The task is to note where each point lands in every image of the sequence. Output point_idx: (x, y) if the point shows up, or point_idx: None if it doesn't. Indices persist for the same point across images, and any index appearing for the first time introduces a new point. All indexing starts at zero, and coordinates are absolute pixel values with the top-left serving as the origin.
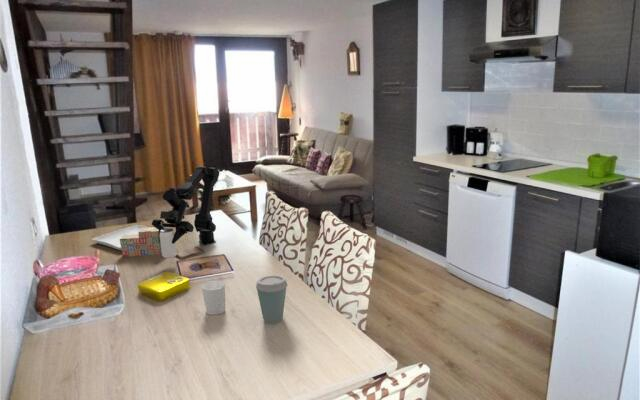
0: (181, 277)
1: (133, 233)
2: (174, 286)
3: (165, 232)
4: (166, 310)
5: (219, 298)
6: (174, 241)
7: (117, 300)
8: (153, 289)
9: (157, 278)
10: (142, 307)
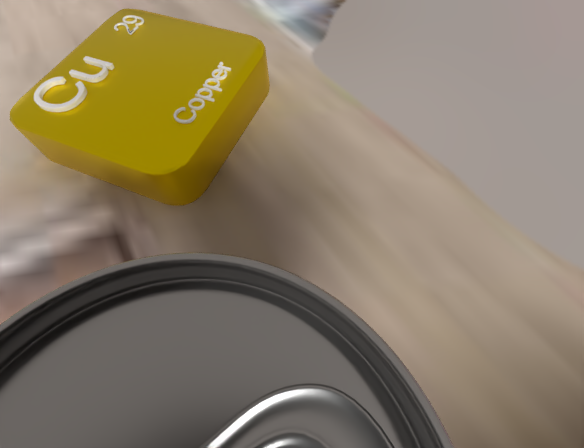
0: (45, 105)
1: None
2: (71, 52)
3: (107, 268)
4: (98, 15)
5: None
6: None
7: (318, 31)
8: (158, 17)
9: (189, 91)
10: (192, 15)
